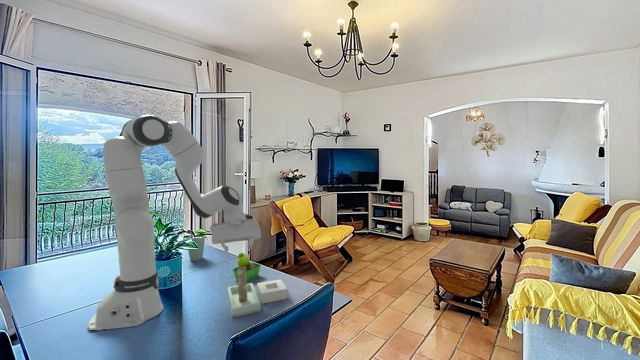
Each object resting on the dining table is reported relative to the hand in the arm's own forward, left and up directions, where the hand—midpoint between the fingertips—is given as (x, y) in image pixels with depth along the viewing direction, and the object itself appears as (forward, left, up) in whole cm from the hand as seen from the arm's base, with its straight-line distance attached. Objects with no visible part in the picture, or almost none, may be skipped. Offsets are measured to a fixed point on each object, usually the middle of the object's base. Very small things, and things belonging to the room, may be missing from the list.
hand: (238, 249), depth 124 cm
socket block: (+12, -9, -18) cm, 23 cm away
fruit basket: (+5, +14, -18) cm, 23 cm away
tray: (0, -10, -18) cm, 21 cm away
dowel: (0, -10, -17) cm, 20 cm away
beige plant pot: (-17, +51, -18) cm, 57 cm away
